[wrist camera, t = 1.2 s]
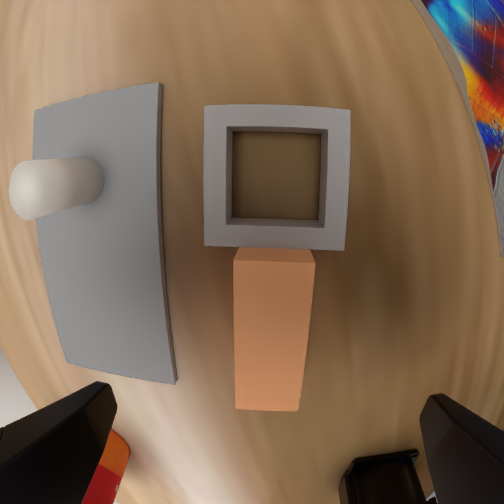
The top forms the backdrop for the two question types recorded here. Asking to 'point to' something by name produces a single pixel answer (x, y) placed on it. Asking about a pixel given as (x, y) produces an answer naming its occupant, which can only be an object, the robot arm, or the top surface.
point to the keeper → (102, 229)
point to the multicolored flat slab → (476, 76)
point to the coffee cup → (108, 471)
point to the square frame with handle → (273, 248)
